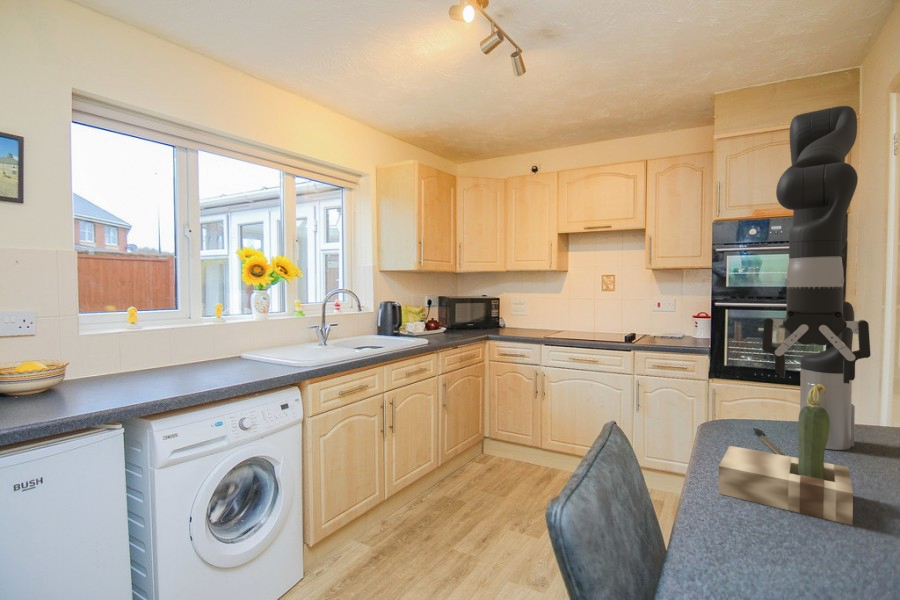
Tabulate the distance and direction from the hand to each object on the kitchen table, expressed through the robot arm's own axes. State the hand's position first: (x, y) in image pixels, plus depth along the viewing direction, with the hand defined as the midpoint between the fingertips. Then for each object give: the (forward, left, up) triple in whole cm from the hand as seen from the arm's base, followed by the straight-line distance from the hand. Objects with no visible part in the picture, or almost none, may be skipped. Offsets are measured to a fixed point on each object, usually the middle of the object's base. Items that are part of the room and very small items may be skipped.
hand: (813, 379), depth 78 cm
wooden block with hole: (+3, -3, -21) cm, 21 cm away
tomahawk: (-17, -24, -22) cm, 37 cm away
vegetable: (0, 0, -21) cm, 21 cm away
